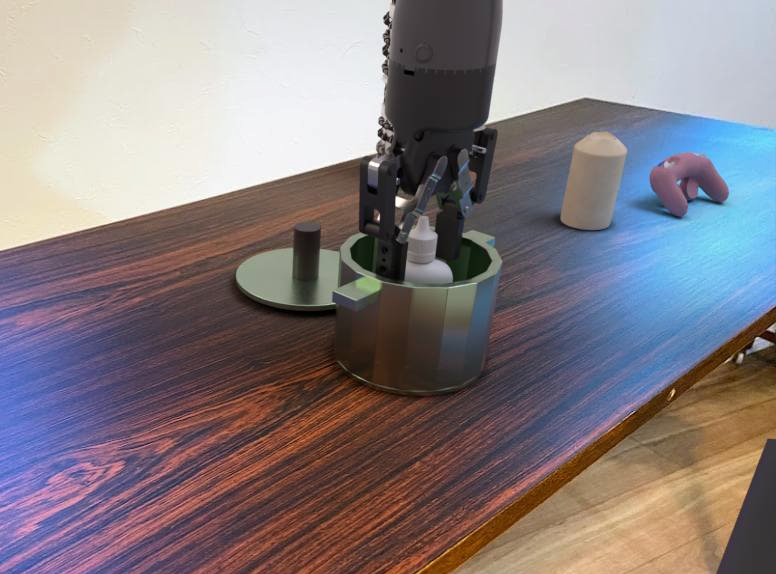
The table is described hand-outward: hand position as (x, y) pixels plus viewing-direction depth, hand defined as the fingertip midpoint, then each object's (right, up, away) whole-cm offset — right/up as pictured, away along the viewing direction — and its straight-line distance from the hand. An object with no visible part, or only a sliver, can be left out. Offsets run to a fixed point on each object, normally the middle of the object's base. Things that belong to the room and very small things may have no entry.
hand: (418, 269), depth 73 cm
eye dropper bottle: (0, -6, +4) cm, 8 cm away
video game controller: (+39, +13, +36) cm, 55 cm away
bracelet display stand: (+8, +19, +46) cm, 51 cm away
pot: (0, -7, +4) cm, 8 cm away
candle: (+25, +10, +31) cm, 41 cm away
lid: (-8, +1, +16) cm, 18 cm away
